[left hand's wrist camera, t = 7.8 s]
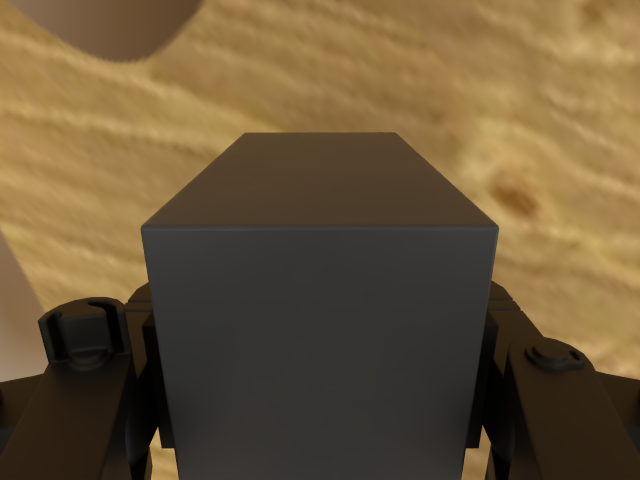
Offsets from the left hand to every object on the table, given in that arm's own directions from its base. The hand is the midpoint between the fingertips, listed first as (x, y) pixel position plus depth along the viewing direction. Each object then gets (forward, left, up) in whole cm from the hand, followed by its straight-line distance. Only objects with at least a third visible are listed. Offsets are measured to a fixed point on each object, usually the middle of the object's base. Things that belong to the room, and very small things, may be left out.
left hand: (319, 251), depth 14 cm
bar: (+10, 0, -1) cm, 10 cm away
